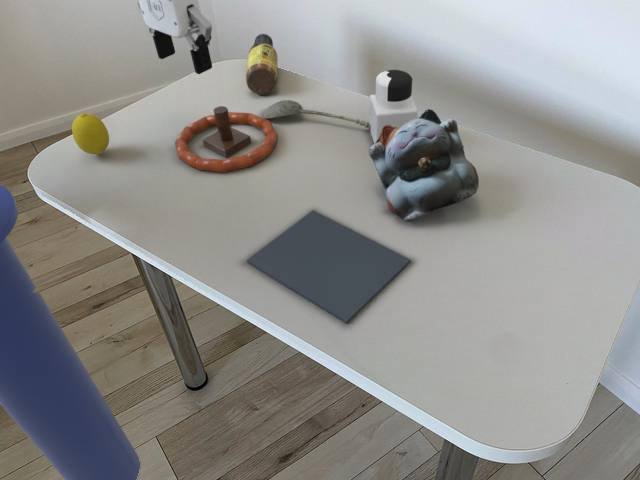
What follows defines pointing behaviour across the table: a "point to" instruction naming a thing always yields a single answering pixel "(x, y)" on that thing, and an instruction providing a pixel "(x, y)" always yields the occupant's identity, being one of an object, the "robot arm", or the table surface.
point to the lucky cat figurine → (423, 166)
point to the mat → (329, 264)
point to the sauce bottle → (262, 66)
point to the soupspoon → (295, 108)
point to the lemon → (90, 134)
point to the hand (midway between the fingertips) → (185, 63)
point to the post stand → (225, 135)
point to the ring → (231, 162)
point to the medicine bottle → (391, 101)
